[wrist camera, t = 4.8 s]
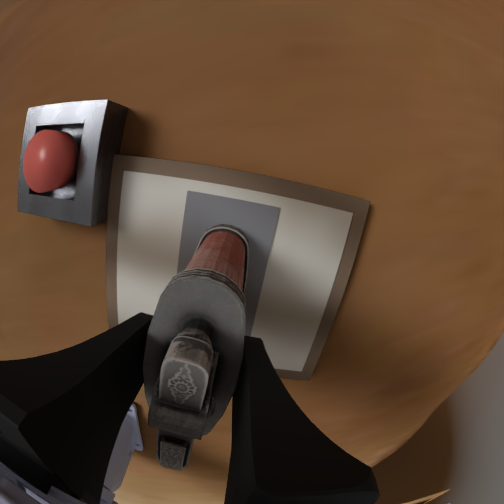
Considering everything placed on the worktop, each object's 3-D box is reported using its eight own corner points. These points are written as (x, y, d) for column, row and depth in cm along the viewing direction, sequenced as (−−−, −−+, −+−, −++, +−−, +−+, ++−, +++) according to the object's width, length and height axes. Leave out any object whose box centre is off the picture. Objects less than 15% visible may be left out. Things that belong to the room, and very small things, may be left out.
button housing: (112, 218, 16) (90, 226, 13) (40, 205, 15) (17, 211, 13) (127, 107, 13) (107, 99, 11) (50, 111, 13) (28, 108, 11)
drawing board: (308, 375, 19) (309, 382, 18) (113, 335, 18) (108, 340, 17) (366, 200, 15) (371, 201, 14) (118, 154, 14) (112, 154, 14)
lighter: (199, 216, 14) (110, 304, 5) (261, 232, 15) (273, 348, 5) (177, 336, 17) (127, 466, 7) (227, 349, 17) (210, 488, 8)
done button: (75, 191, 13) (58, 195, 12) (37, 187, 13) (21, 190, 11) (83, 130, 12) (66, 128, 10) (43, 132, 12) (27, 130, 10)
